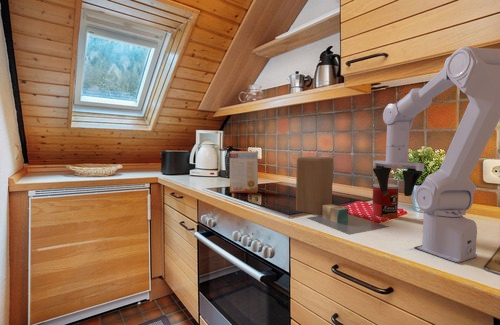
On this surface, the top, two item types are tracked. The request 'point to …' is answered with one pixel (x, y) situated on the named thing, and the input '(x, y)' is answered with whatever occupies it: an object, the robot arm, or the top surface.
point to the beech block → (335, 213)
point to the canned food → (385, 201)
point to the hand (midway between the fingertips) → (395, 193)
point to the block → (314, 184)
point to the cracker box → (243, 172)
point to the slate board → (350, 224)
